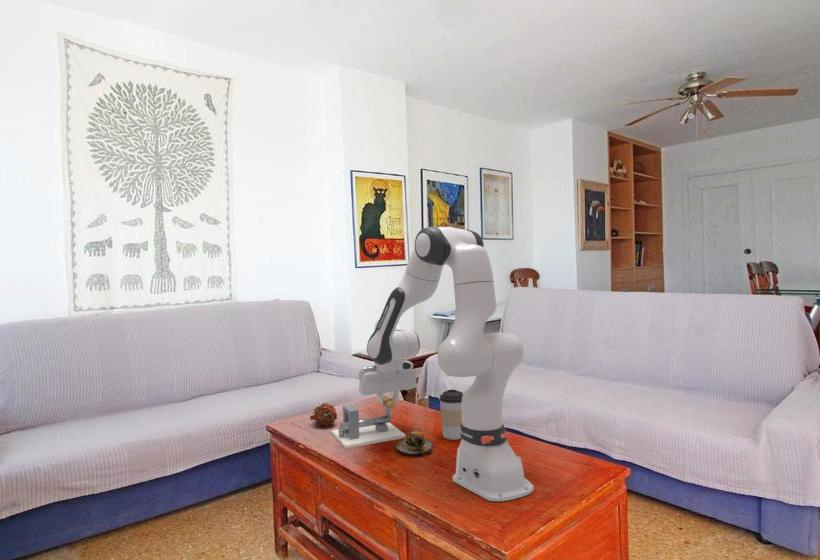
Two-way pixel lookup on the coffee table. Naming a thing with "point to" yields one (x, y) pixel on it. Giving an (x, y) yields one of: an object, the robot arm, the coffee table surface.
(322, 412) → the dragon fruit
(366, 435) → the board
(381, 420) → the hook
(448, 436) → the coffee cup
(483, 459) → the robot arm
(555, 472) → the coffee table surface
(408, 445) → the burger
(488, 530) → the coffee table surface
